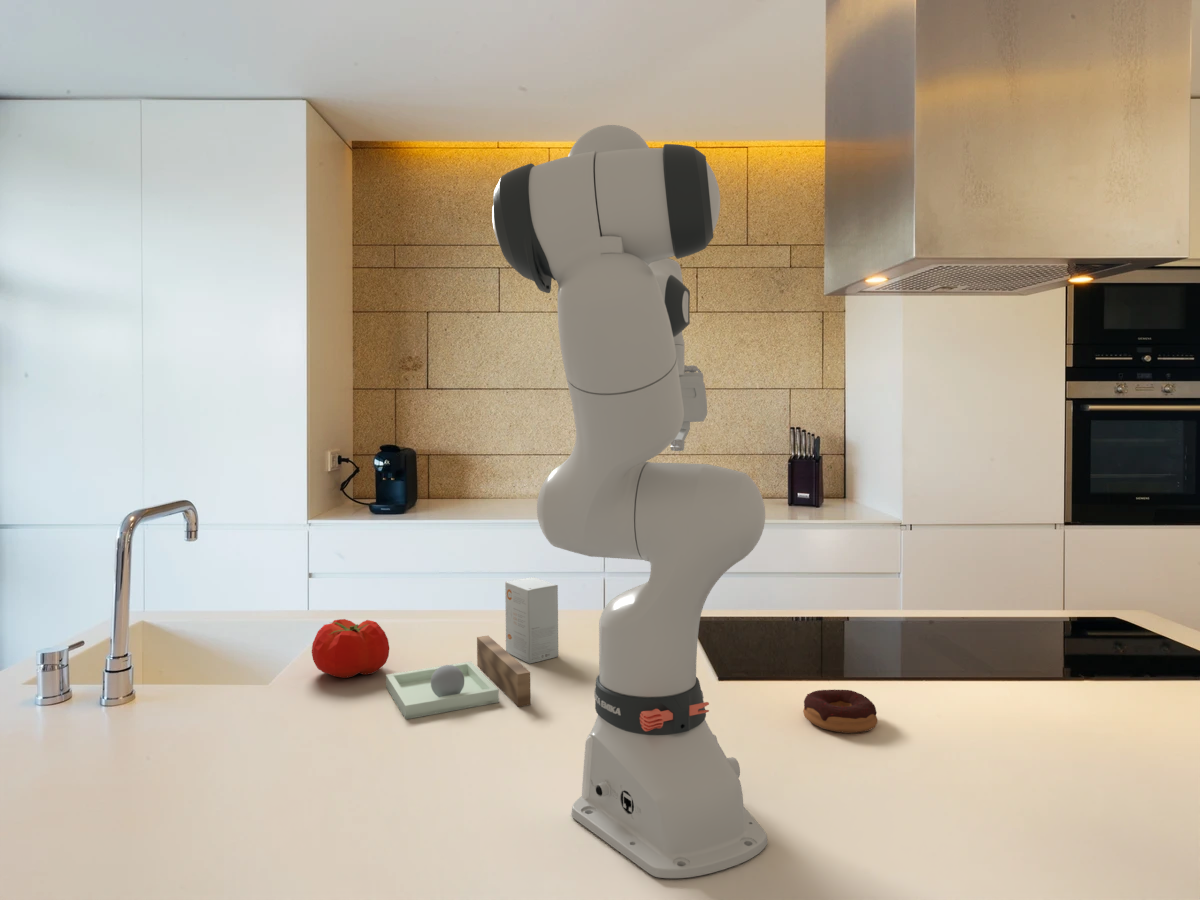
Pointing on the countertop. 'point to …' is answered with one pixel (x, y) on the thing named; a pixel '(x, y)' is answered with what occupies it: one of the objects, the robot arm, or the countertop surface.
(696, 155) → the robot arm
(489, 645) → the rail
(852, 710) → the donut
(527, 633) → the small box
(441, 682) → the ball
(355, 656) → the tomato
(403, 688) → the dish
